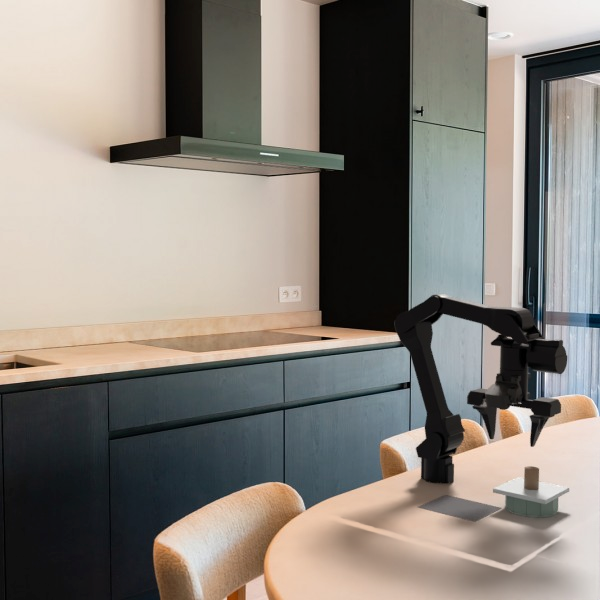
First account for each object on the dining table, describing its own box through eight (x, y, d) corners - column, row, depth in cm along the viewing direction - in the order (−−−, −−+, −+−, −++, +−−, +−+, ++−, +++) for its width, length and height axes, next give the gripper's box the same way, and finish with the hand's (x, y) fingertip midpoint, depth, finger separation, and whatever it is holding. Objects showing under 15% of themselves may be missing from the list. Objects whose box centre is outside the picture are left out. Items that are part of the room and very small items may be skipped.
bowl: (496, 512, 164) (496, 492, 163) (519, 500, 171) (519, 481, 171) (544, 523, 157) (544, 503, 157) (565, 511, 165) (566, 491, 164)
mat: (417, 509, 165) (417, 506, 165) (445, 497, 173) (445, 494, 173) (474, 524, 156) (475, 521, 156) (502, 510, 165) (502, 507, 164)
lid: (492, 492, 163) (493, 468, 163) (518, 480, 172) (518, 458, 171) (545, 504, 156) (546, 479, 156) (569, 491, 164) (569, 467, 164)
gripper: (454, 367, 171) (452, 442, 172) (539, 378, 158) (536, 458, 159) (481, 362, 179) (479, 433, 180) (563, 372, 167) (560, 447, 168)
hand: (511, 442), depth 172 cm, fingers open, 9 cm apart
